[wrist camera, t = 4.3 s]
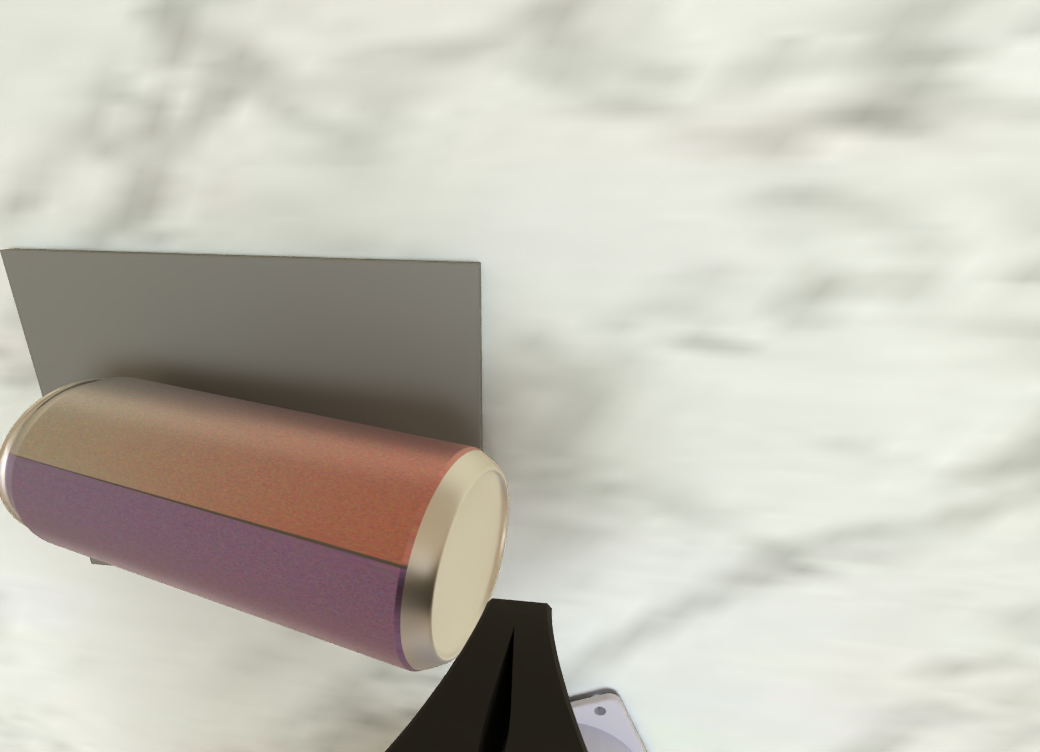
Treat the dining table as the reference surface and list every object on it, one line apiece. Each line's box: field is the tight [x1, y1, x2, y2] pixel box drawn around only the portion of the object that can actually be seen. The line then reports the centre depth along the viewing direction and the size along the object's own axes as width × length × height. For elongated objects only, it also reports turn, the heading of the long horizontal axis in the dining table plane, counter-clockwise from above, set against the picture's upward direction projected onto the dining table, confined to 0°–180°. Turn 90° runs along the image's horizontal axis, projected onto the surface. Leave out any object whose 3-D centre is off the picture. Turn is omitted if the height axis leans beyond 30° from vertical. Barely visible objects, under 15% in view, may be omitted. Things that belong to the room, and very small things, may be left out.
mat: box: [0, 249, 482, 566], centre depth 22 cm, size 18×14×1 cm
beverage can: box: [0, 377, 509, 671], centre depth 17 cm, size 6×6×15 cm
